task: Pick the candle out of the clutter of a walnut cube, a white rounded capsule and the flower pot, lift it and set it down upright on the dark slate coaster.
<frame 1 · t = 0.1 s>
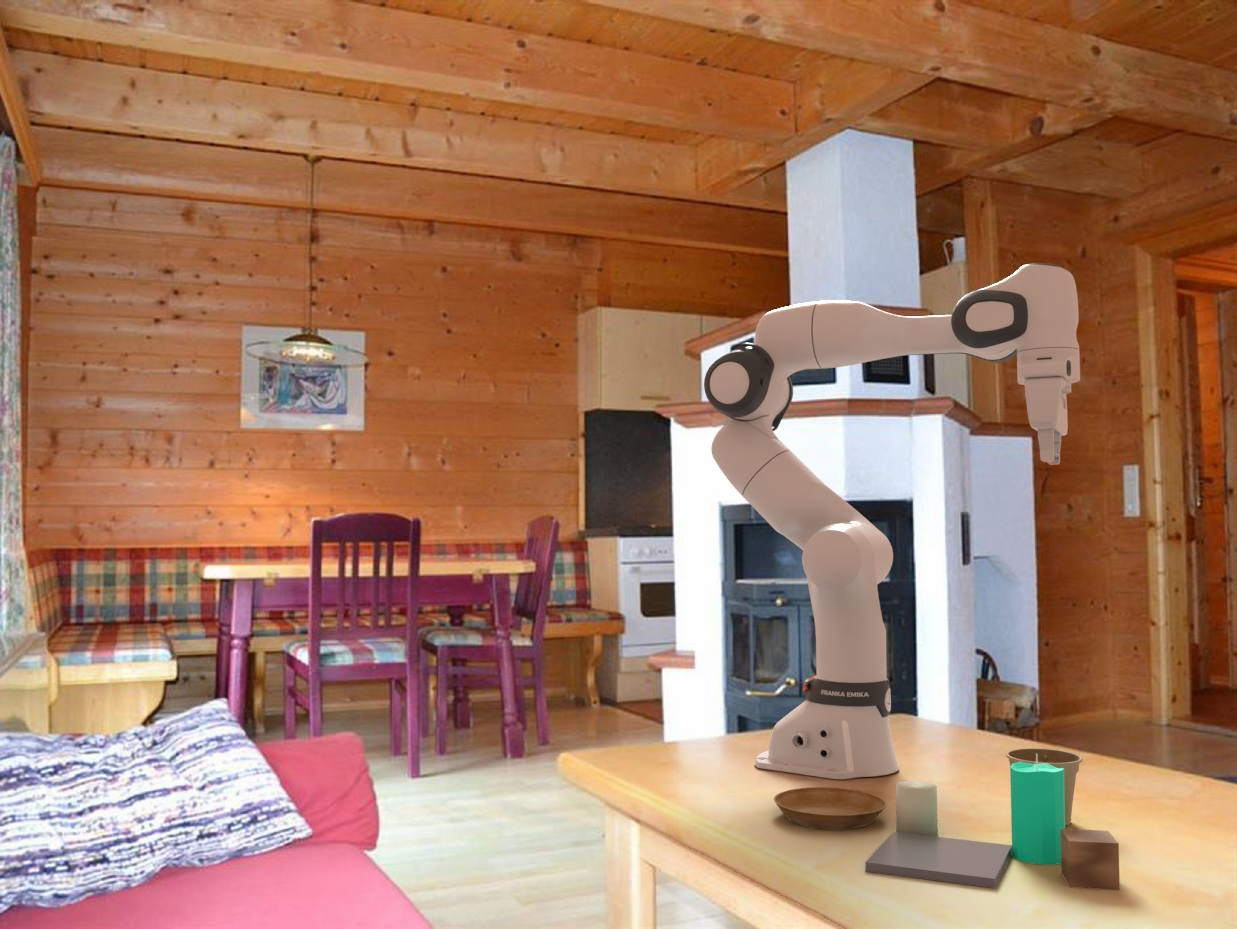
hand: (1050, 463, 171), 48 cm above the table, tool pointing down, fingers open, 8 cm apart
flower pot: (1045, 823, 149), on the table
coaster: (940, 862, 132), on the table
candle: (1039, 859, 134), on the table
walnut cube: (1090, 882, 125), on the table
plant saucer: (830, 821, 152), on the table
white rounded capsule: (917, 833, 144), on the table
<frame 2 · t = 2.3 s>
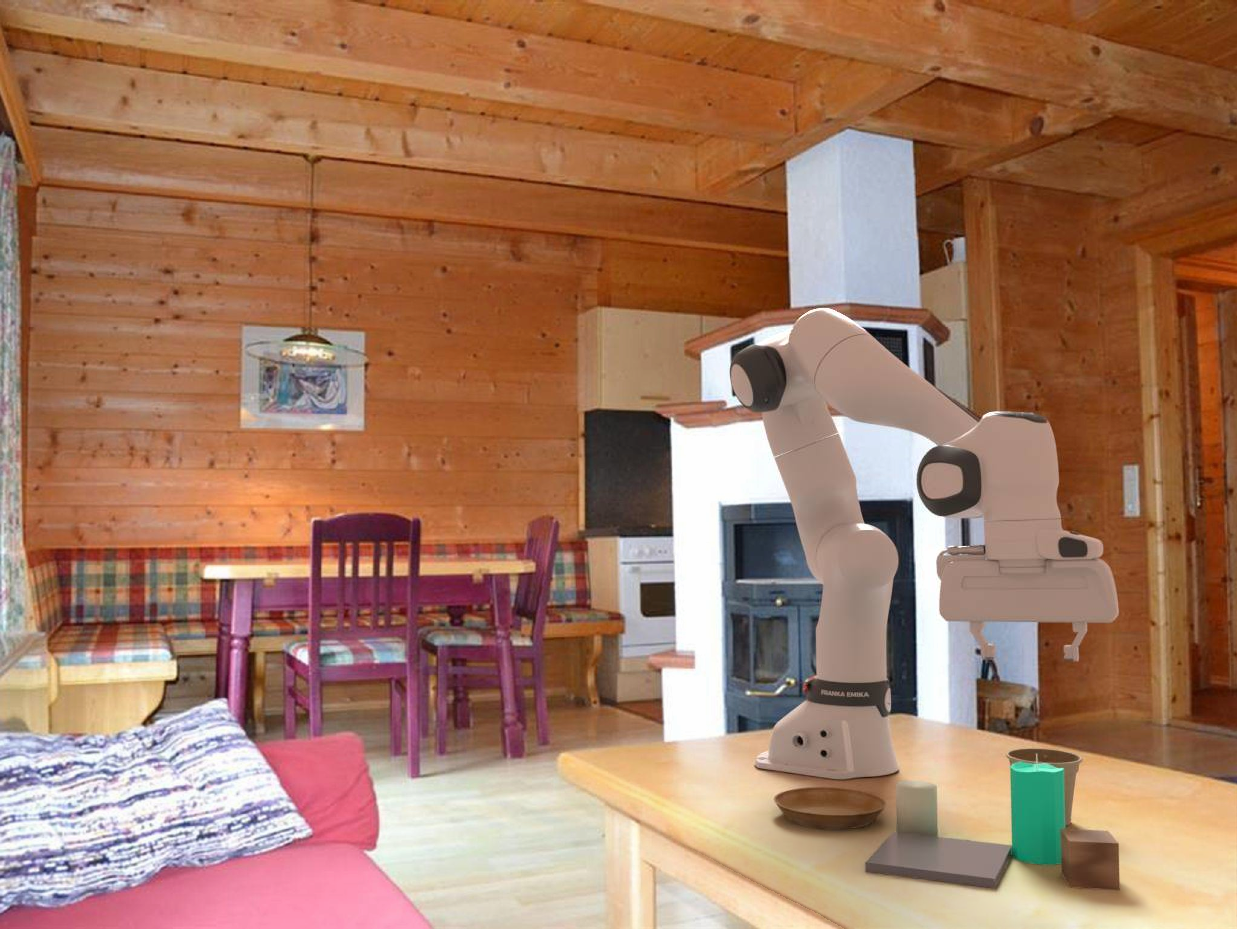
hand: (1029, 660, 136), 23 cm above the table, tool pointing down, fingers open, 8 cm apart
nothing on the table moved.
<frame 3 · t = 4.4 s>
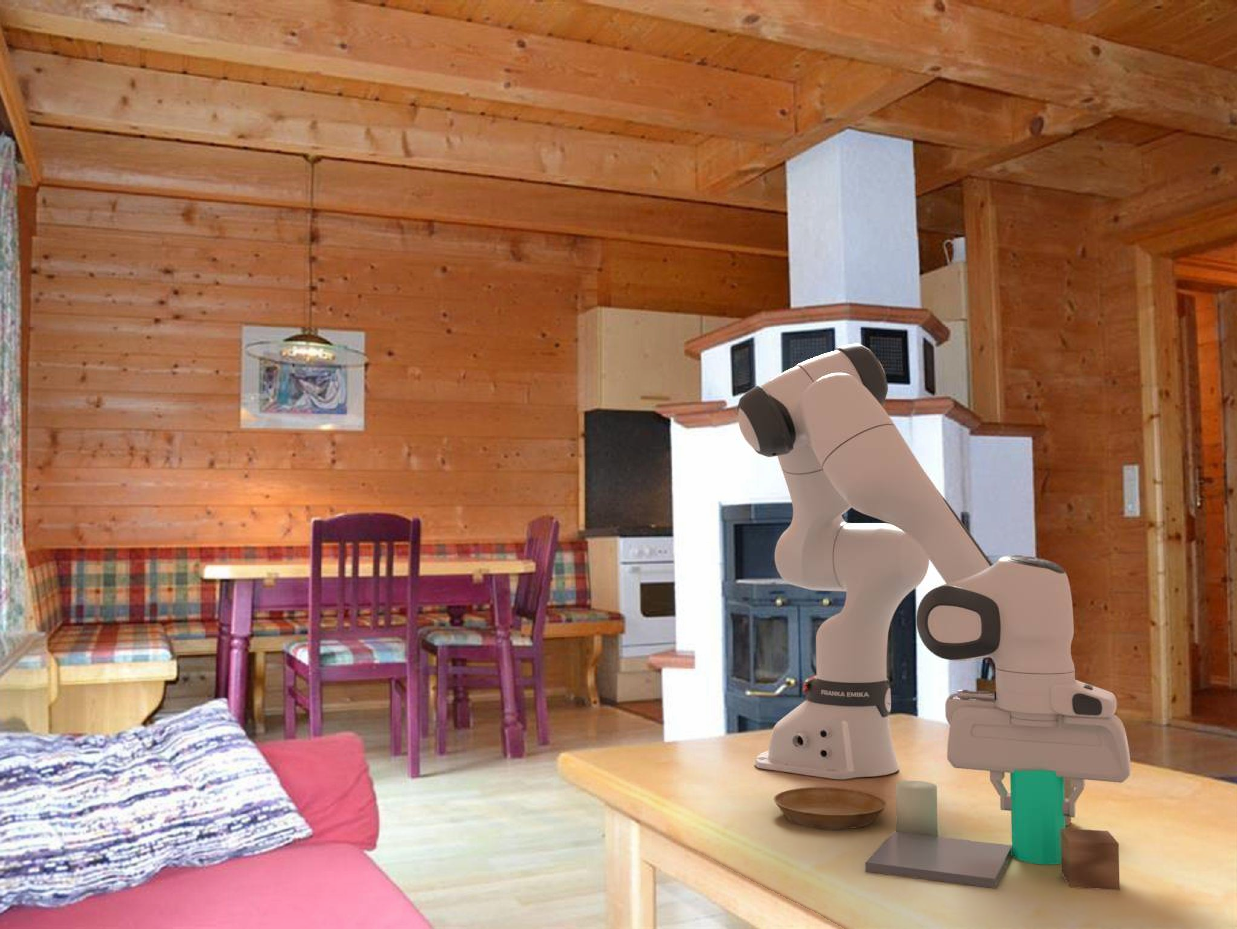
hand: (1037, 812, 134), 5 cm above the table, tool pointing down, fingers closed on candle, 5 cm apart
candle: (1039, 858, 134), on the table, touching gripper
everything else where it was.
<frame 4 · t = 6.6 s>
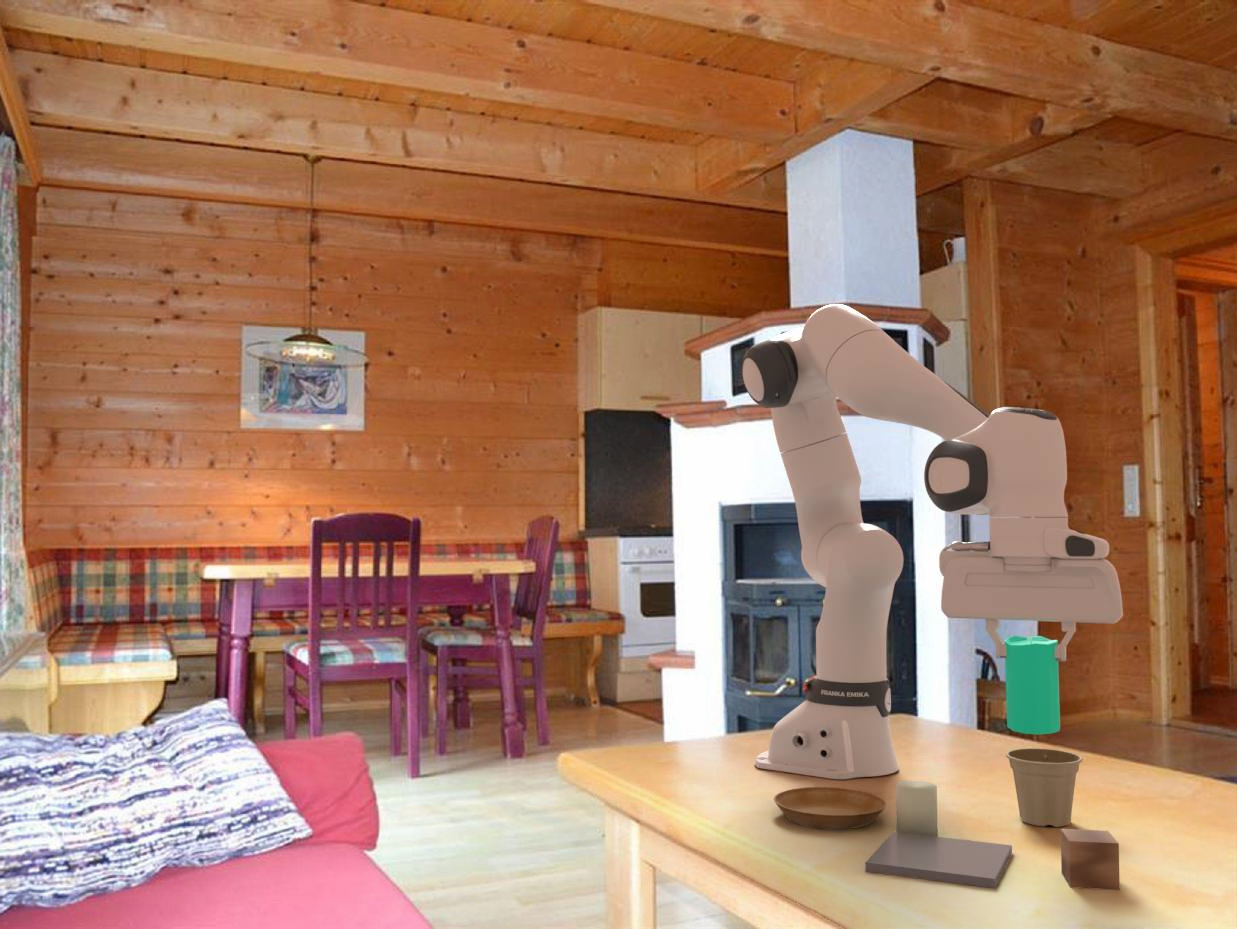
hand: (1030, 659, 135), 23 cm above the table, tool pointing down, fingers closed on candle, 5 cm apart
candle: (1033, 728, 135), point 15 cm above the table, touching gripper
everything else where it was.
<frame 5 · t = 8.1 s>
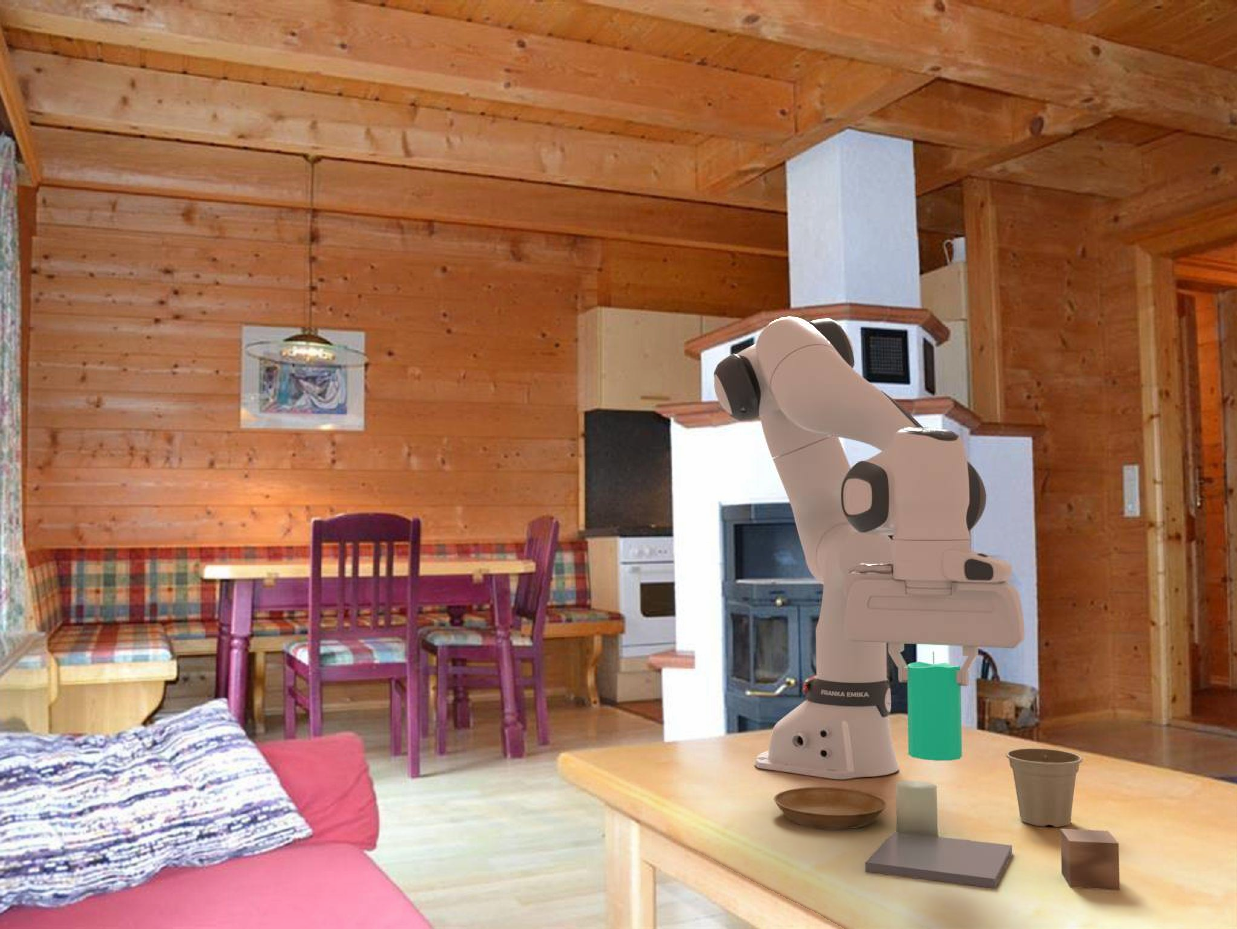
hand: (933, 683, 133), 20 cm above the table, tool pointing down, fingers closed on candle, 5 cm apart
candle: (935, 757, 133), point 12 cm above the table, touching gripper
everything else where it was.
when the fingers open (10 cm above the table, at t = 9.7 s): candle stays where it is, resting on coaster.
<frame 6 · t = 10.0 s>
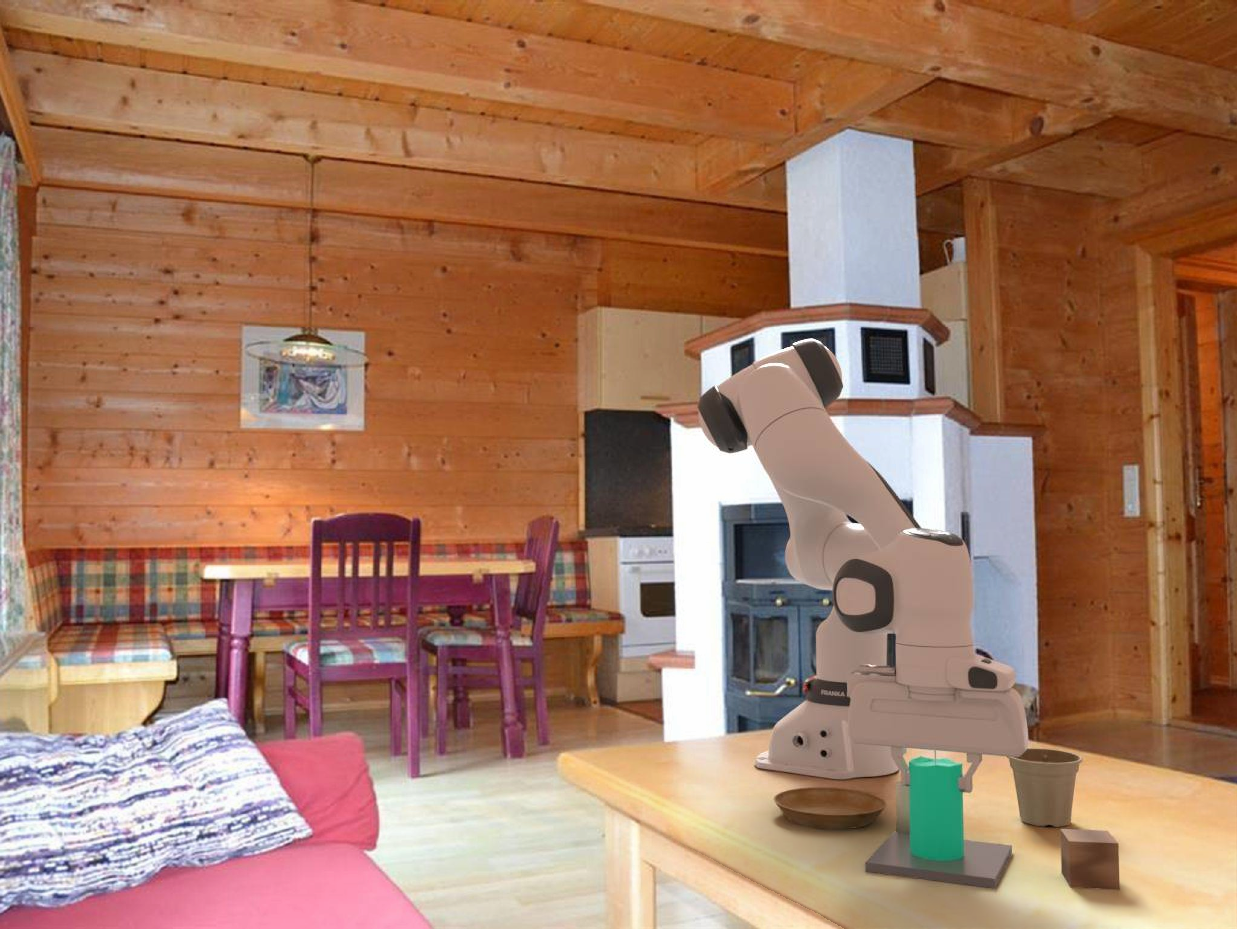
hand: (936, 788, 132), 8 cm above the table, tool pointing down, fingers open, 5 cm apart
candle: (937, 854, 132), point 1 cm above the table, touching coaster, gripper
everything else where it was.
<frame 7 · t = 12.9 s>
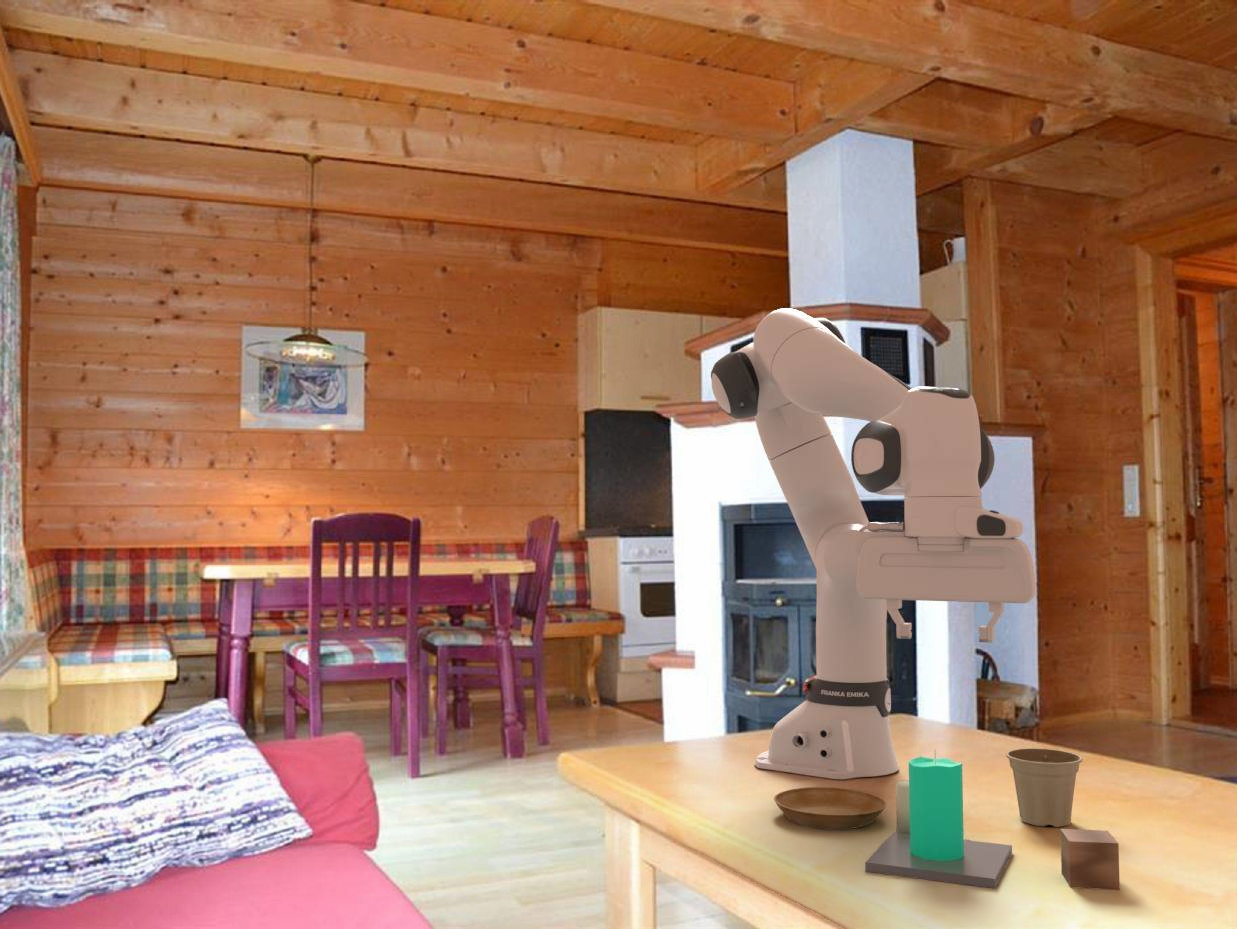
hand: (944, 640, 134), 25 cm above the table, tool pointing down, fingers open, 8 cm apart
candle: (936, 854, 132), point 1 cm above the table, touching coaster
everything else where it was.
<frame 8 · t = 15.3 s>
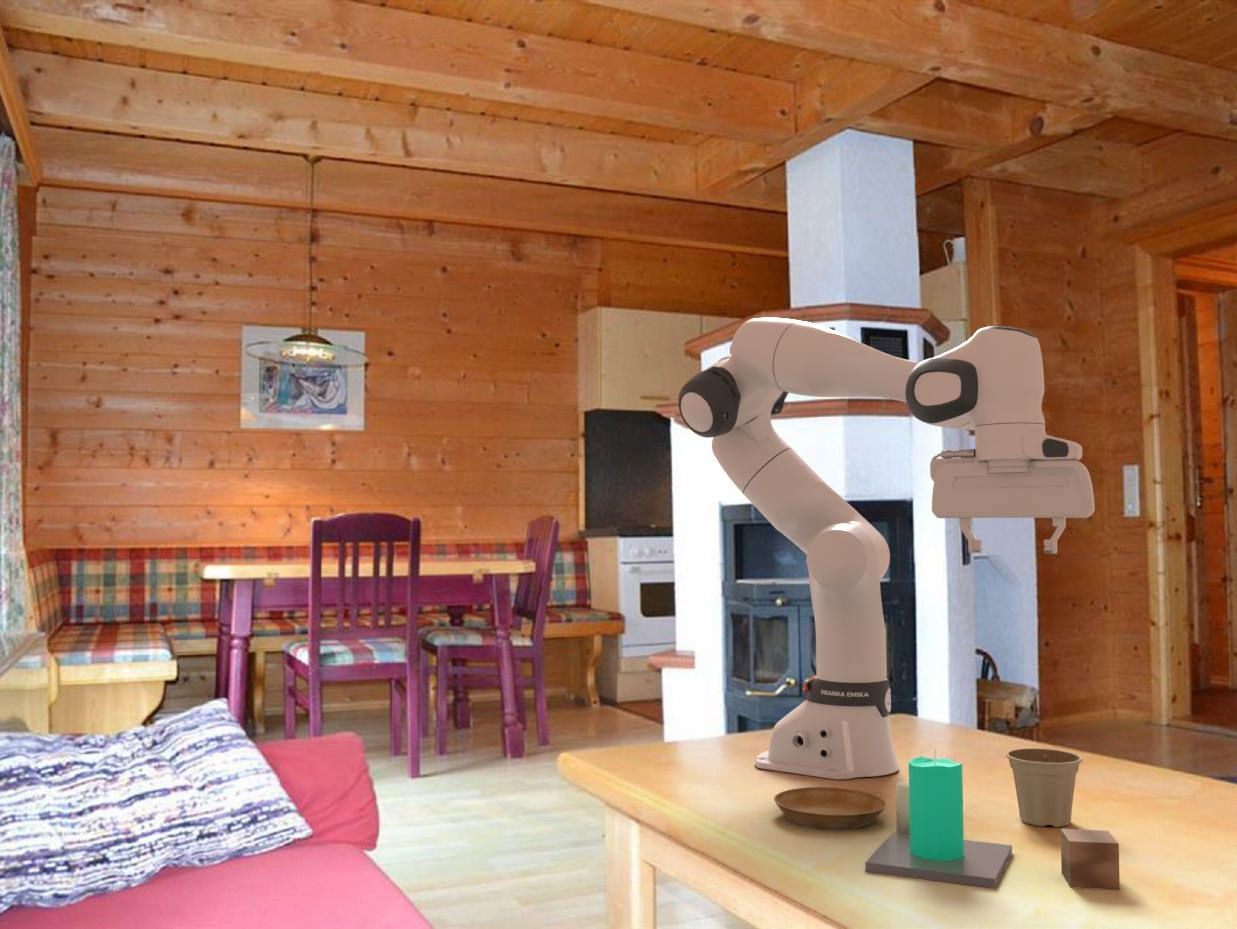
hand: (1012, 553, 150), 35 cm above the table, tool pointing down, fingers open, 8 cm apart
nothing on the table moved.
at the end: candle inside the target area on the coaster (0.4 cm from its centre), point 0.8 cm above the coaster's base; candle tilted 0°; the gripper is holding nothing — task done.
